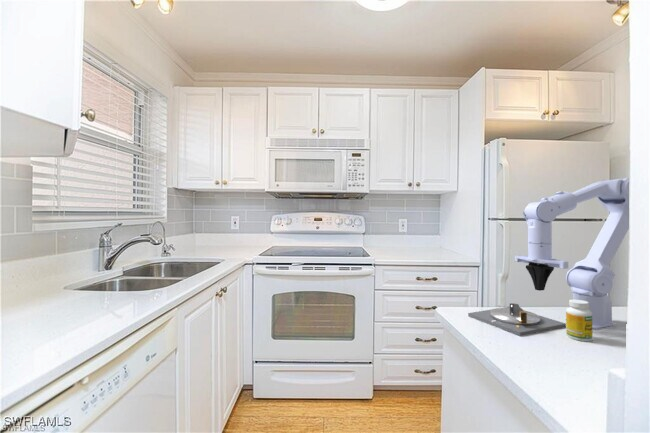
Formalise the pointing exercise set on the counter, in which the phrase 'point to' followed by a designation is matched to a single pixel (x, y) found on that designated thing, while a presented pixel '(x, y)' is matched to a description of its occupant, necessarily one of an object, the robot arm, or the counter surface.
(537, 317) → the dial
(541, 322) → the dial plate
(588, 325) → the supplement bottle
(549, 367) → the counter surface
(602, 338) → the counter surface
